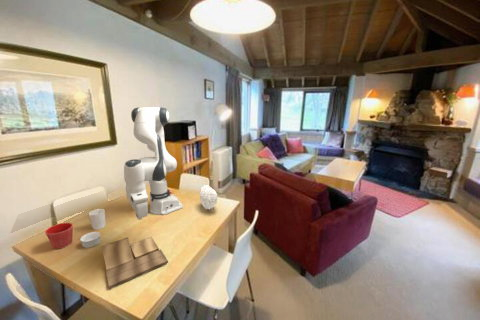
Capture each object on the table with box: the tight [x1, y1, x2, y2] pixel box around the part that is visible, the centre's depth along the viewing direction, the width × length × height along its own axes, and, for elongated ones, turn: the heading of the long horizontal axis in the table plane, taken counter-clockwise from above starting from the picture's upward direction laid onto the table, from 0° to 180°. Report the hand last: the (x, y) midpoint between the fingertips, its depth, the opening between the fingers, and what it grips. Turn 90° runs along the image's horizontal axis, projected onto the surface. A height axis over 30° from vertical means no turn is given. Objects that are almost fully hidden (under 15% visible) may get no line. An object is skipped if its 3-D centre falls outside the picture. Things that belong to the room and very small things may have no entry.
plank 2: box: [129, 236, 160, 260], centre depth 108 cm, size 11×12×2 cm
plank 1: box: [101, 237, 135, 271], centre depth 99 cm, size 11×12×2 cm
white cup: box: [88, 208, 107, 230], centre depth 125 cm, size 8×8×10 cm
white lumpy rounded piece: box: [199, 184, 218, 212], centre depth 150 cm, size 18×11×17 cm, turn 32°
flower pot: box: [44, 222, 74, 250], centre depth 109 cm, size 11×11×10 cm
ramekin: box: [79, 231, 101, 249], centre depth 111 cm, size 9×9×4 cm
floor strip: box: [105, 248, 169, 290], centre depth 96 cm, size 24×11×2 cm, turn 129°
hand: (139, 217), depth 106 cm, fingers closed
